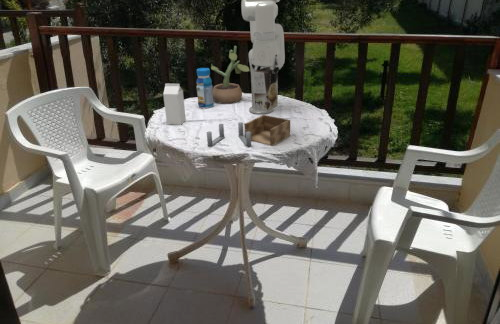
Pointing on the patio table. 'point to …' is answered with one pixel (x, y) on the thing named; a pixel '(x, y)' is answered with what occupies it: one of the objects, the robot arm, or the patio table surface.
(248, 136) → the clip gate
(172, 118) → the milk carton
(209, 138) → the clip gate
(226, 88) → the potted plant
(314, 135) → the patio table surface
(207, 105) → the beverage bottle
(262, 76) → the coffee box
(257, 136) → the wooden tray
